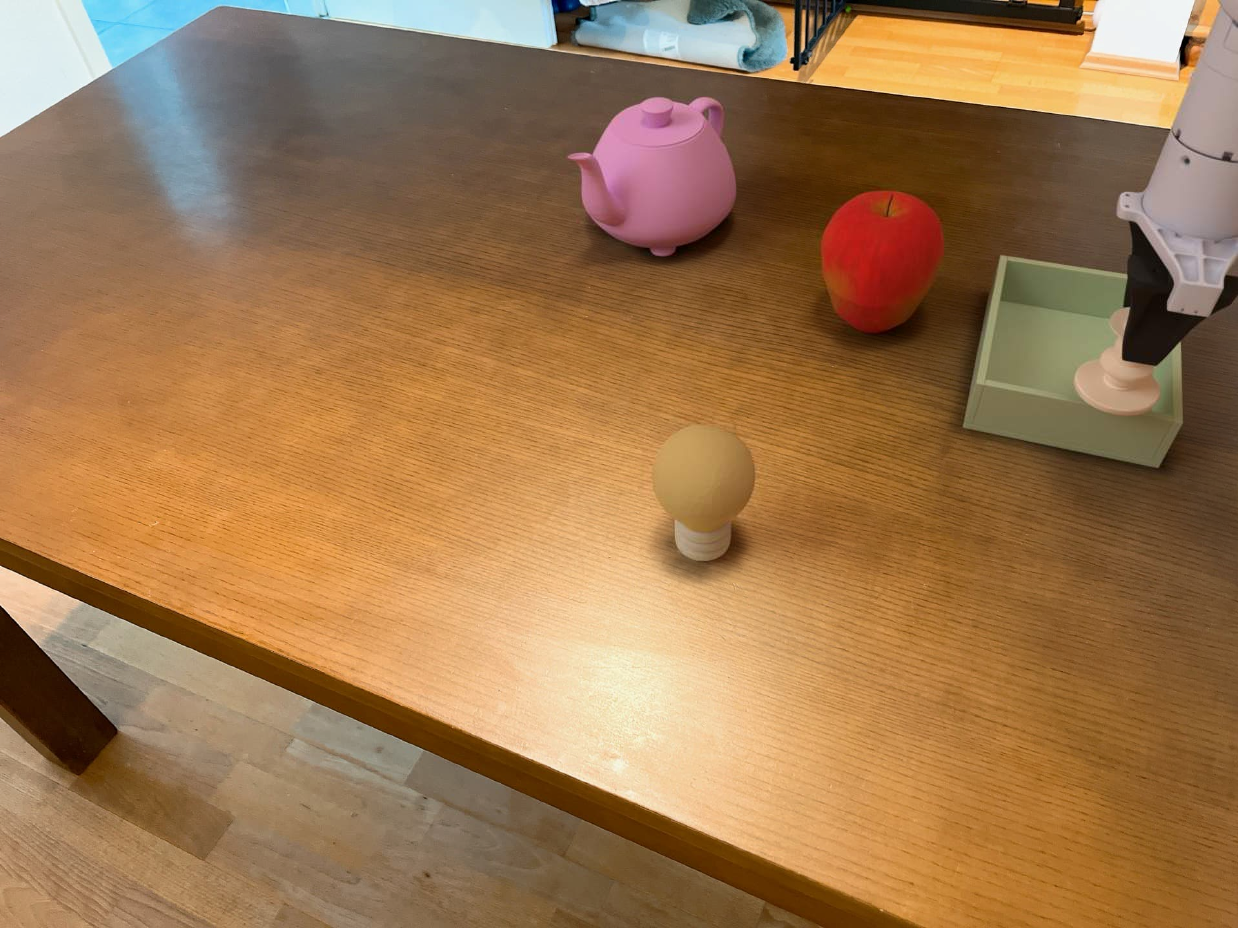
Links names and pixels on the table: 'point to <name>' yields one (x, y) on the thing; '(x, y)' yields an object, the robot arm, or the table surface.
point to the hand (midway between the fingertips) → (1139, 337)
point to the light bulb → (703, 487)
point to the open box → (1062, 365)
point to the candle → (1117, 378)
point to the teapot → (660, 174)
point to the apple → (881, 258)
